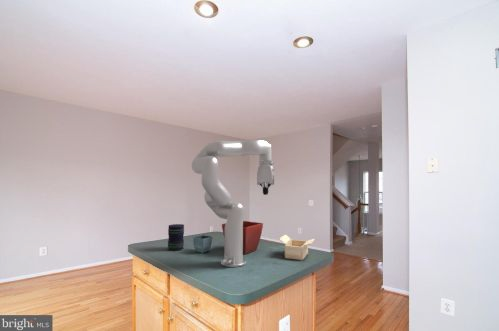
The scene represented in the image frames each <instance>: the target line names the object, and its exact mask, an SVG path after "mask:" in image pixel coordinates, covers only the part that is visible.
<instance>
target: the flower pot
mask: <svg viewBox="0 0 499 331" xmlns="http://www.w3.org/2000/svg"><path fill="white" fill-rule="evenodd" d="M192 239H193V240H192V241H193V242H192V243H193V247H194V249H195V251H196V252H197V253H202V254H203V253H204V254H205V253H206V252H208V251H209V250H210V248H211V247H212V242H213V236H211V235H205V234H201V235H197V236H193V237H192Z"/></svg>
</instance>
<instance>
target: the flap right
mask: <svg viewBox="0 0 499 331" xmlns="http://www.w3.org/2000/svg"><path fill="white" fill-rule="evenodd" d="M306 241H307V242H306V243H305V244H304V245H303V246H306V245H308V246H309V245H312V243H313V242H314V241H315V238H312V239H308V240H306Z"/></svg>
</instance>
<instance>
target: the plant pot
mask: <svg viewBox="0 0 499 331" xmlns="http://www.w3.org/2000/svg"><path fill="white" fill-rule="evenodd" d="M225 225H226V223H222V224H221V228H222V235H223V238H224V239H225ZM263 228H264V223H262V222H256V221H246V220H243V255H247V254H249V253H252V252H255V251H257V250H258V246H259V243H260V241H261V236H262V231H263Z"/></svg>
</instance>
